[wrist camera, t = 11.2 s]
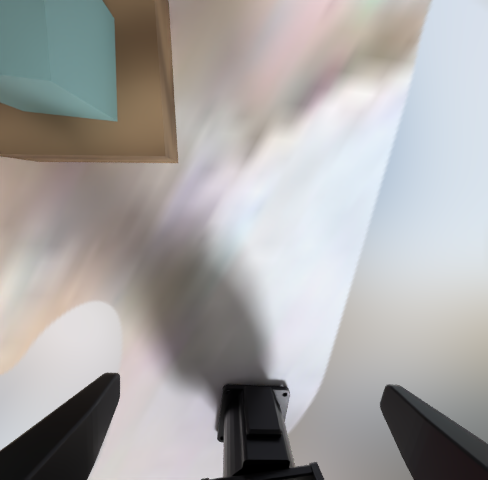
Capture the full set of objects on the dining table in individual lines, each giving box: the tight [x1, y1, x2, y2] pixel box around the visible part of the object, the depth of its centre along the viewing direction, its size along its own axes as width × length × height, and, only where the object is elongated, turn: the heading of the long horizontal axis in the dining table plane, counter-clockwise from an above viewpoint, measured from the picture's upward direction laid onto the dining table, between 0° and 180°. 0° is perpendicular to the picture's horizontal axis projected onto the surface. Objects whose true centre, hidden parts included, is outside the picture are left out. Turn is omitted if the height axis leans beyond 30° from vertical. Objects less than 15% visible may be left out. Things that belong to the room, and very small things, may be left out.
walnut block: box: [0, 0, 178, 163], centre depth 14 cm, size 10×10×4 cm
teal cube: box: [0, 0, 118, 122], centre depth 10 cm, size 5×5×5 cm
